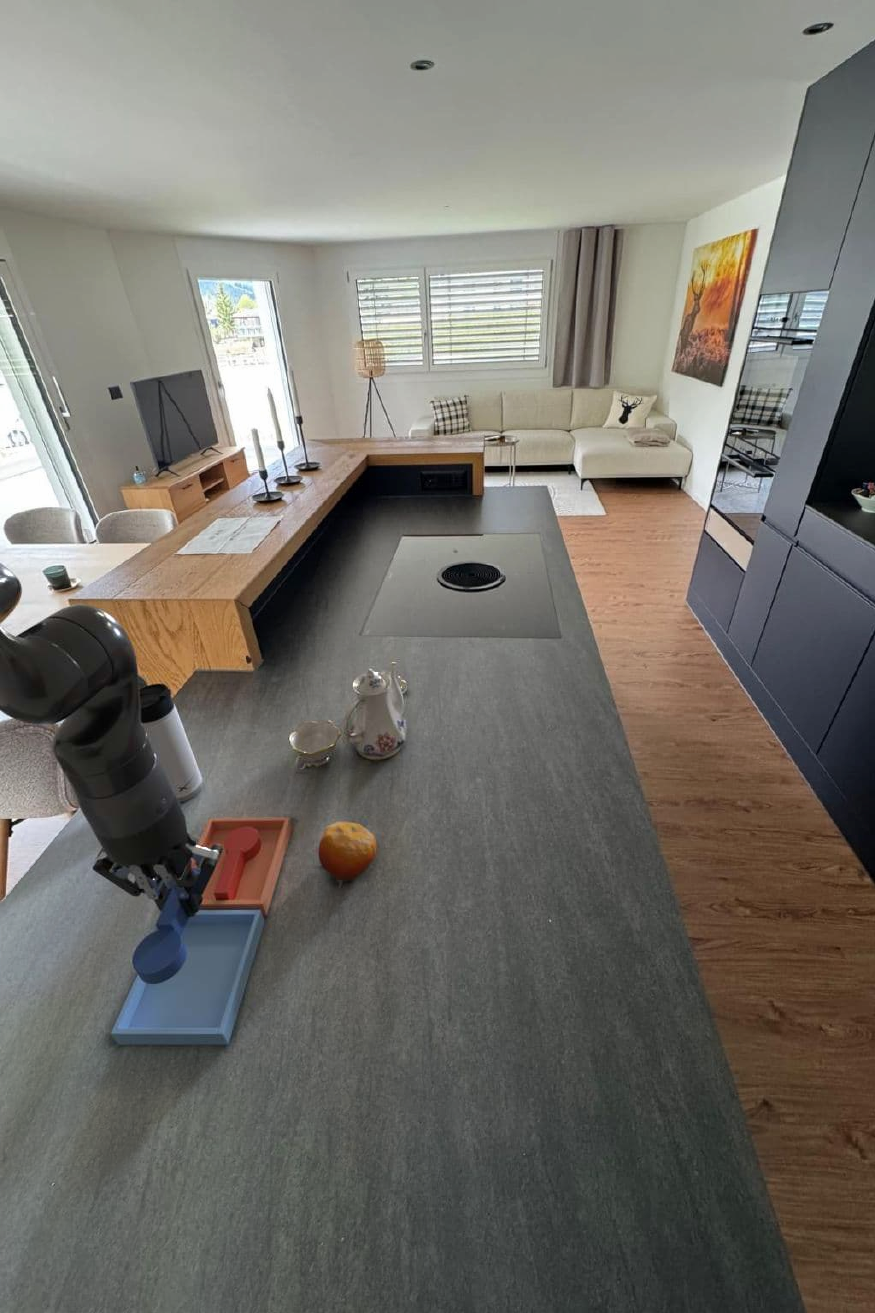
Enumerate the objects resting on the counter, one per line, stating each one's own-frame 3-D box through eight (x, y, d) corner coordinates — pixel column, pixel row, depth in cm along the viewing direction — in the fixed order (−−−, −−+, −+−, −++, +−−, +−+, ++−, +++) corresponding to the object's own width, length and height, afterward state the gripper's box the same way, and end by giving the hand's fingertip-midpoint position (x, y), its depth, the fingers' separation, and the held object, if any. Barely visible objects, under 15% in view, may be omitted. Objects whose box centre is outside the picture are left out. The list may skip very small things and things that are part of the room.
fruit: (297, 869, 77) (314, 817, 75) (339, 856, 83) (355, 809, 82) (333, 904, 72) (352, 850, 71) (375, 888, 78) (393, 838, 77)
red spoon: (243, 906, 73) (238, 892, 72) (207, 907, 73) (201, 894, 72) (264, 834, 83) (260, 821, 81) (232, 836, 83) (227, 822, 81)
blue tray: (118, 1044, 60) (109, 1034, 59) (172, 921, 72) (166, 910, 71) (228, 1045, 60) (222, 1034, 59) (265, 921, 72) (260, 909, 71)
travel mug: (197, 803, 90) (159, 705, 79) (157, 803, 90) (113, 706, 79) (211, 775, 95) (177, 679, 84) (173, 775, 95) (134, 680, 84)
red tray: (175, 916, 73) (169, 904, 72) (213, 829, 85) (209, 818, 84) (266, 915, 73) (262, 904, 71) (292, 828, 84) (289, 817, 83)
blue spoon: (176, 883, 66) (169, 867, 65) (216, 883, 66) (209, 867, 64) (130, 984, 56) (119, 969, 55) (176, 984, 56) (167, 968, 55)
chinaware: (377, 692, 116) (361, 621, 107) (446, 708, 107) (435, 632, 99) (283, 779, 96) (255, 700, 87) (359, 807, 87) (336, 722, 79)
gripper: (215, 775, 57) (253, 880, 66) (84, 777, 57) (140, 881, 66) (186, 834, 50) (232, 941, 60) (39, 837, 51) (108, 942, 60)
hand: (183, 909), depth 63 cm, fingers closed on blue spoon, 2 cm apart
